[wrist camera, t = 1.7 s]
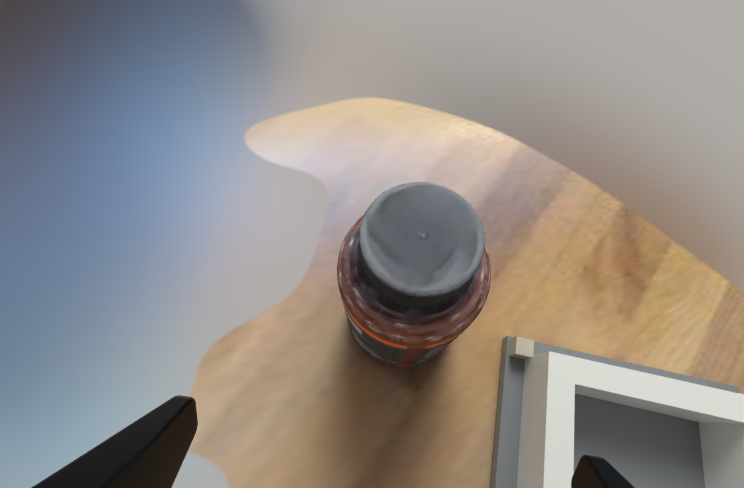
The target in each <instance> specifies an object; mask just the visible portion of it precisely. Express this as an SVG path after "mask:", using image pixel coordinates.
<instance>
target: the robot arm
mask: <svg viewBox="0 0 744 488" xmlns="http://www.w3.org/2000/svg"><path fill="white" fill-rule="evenodd" d="M197 425H198V421H197V412H196V402H195V400H194V398H192V397H187V396H175V397H173V398H171V399H170V400H168V401H167V402H165V403H163V404H162V405H160V406H159V407H157V408H156V409H154V410H152V411H151V412H149V413H148V414H146V415H145V416H143V417H142V418H140V419H138V420H137V421H135V422H134V423H132V424H131V425H129V426H128V427H126V428H124V429H123V430H121V431H120V432H118V433H116V434H115V435H113V436H112V437H110V438H109V439H107V440H105V441H104V442H102V443H101V444H99V445H98V446H96V447H95V448H93V449H91V450H90V451H88V452H87V453H85V454H84V455H82V456H80V457H79V458H77V459H76V460H74V461H73V462H71V463H69V464H68V465H66V466H65V467H63V468H62V469H60V470H58V471H57V472H56V473H54V474H52V475H51V476H49V477H48V478H46V479H44V480H43V481H41V482H40V483H38V484H37V485H35V486H33V487H32V488H171V487H172V485H173V483H174V481H175V478H176V476H177V474H178V472H179V469H180V467H181V465H182V462H183V460H184V458H185V456H186V454H187V451H188V449H189V447H190V445H191V442H192V440H193V438H194V436H195V433H196V430H197ZM571 488H635V487H634V486H633V485H632V484H631V483H630V482H629V481H628V480H627V479H626V478H624V477H623V476H622V475H621V474H620V473H619V472H618V471H617V470H616V469H615V468H614V467H613V466H612V465H611V464H610V463H609V462H608V461H607V460H606V459H604V458H603V457H600V456H594V455H587V454H585V455H583V456H581V458H580V460H579V462H578V465H577V467H576V469H575V472H574V474H573V476H572V480H571Z"/></svg>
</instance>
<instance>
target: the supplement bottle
mask: <svg viewBox="0 0 744 488" xmlns="http://www.w3.org/2000/svg"><path fill="white" fill-rule="evenodd" d="M337 277H338V285H339V290H340V294H341V299H342V302H343V305H344V308H345V312H346V315H347V319H348V323H349V325H350V329H351V331H352V334H353V336H354V338H355V340H356V342H357V343H358V344H359V346H360V347H361V348H362V350H363V351H364V352H366V353H367V354H368V355H369V356H370V357H371V358H373V359H374V360H376V361H378V362H380V363H382V364H385V365H388V366H393V367H413V366H417V365H420V364H422V363H424V362H426V361H429V360H430V359H432V358H433V357H435V356H436V355H437V354H438V353H440V352H441V351H442V350H443V349H444V348H445V347H446V346H448V345H449V344H450V343H451V342H452V341H453V340H454V339H456V338H457V337H458V336H459V335H460V334H461V333H462V332H463V331H464V330H465V329H467V328H468V326H469V325H470V324H471V323H472V322H473V321H474V320H475V318H476V317H477V316H478V314H479V313H480V311H481V310H482V308H483V306H484V304H485V301H486V299H487V296H488V293H489V288H490V282H491V266H490V259H489V255H488V251H487V248H486V246H485V237H484V231H483V226H482V223H481V220H480V218H479V216H478V215H477V213H476V212H475V210H474V209H473V207H472V206H471V205H470V204H469V203H468V202H467V201H466V200H465V199H464V198H463V197H461V196H460V195H459V194H457V193H456V192H454V191H453V190H450V189H448V188H446V187H443V186H440V185H436V184H433V183H427V182H414V183H408V184H401V185H398V186H396V187H393V188H391V189H389V190H387V191H386V192H383V193H382V194H381V195H380V196H379V197H378V198H376V199H375V201H374V202H373V203H372V204H371V205H370V207H369V208H368V210H367V211H366V212H365V214H364V215H363V216H362V217H361V218H359V219H358V220H357V222H356V223H355V224H353V226H352V227H351V228H350V230H349V232H348V233H347V235H346V236H345V239H344V241H343V243H342V245H341V249H340V252H339V257H338V265H337Z"/></svg>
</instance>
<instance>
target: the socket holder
mask: <svg viewBox="0 0 744 488" xmlns="http://www.w3.org/2000/svg"><path fill="white" fill-rule="evenodd" d="M585 454H587V455H594V456H600V457H603V458H604V459H606V460H607V461H608V462H609V463H610V464H611V465H612V466H613V467H614V468H615V469H616V470H617V471H618V472H619V473H620V474H621V475H622V476H623V477H624V478H626V479H627V480H628V481H629V482H630V483H631V484H632V485H633V486H634V487H635V488H744V394H739V392H738V387H736V386H731V385H727V384H722V383H718V382H713V381H709V380H704V379H700V378H695V377H691V376H686V375H681V374H677V373H672V372H668V371H663V370H659V369H654V368H650V367H645V366H641V365H636V364H632V363H627V362H623V361H618V360H614V359H609V358H605V357H600V356H596V355H591V354H587V353H582V352H578V351H573V350H569V349H564V348H560V347H555V346H551V345H546V344H541V343H537V342H534V340H531V339H527V338H522V337H518V336H516V337H510V336H507V337H505V338H503V346H502V357H501V368H500V380H499V391H498V402H497V414H496V425H495V437H494V448H493V459H492V471H491V482H490V488H571V480H572V476H573V474H574V472H575V469H576V467H577V465H578V462H579V460H580V458H581V456H583V455H585Z"/></svg>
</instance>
